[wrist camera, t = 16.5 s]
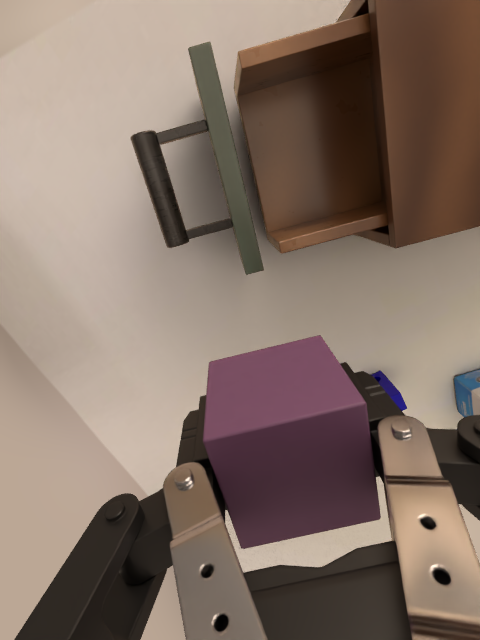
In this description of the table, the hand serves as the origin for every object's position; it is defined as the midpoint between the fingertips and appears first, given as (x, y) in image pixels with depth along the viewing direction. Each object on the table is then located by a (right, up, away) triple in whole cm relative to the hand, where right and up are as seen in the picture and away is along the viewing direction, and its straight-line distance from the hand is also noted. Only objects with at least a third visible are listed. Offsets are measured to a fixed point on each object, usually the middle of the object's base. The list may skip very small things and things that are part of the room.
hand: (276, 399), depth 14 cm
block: (0, 0, 0) cm, 0 cm away
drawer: (+1, +15, +12) cm, 19 cm away
